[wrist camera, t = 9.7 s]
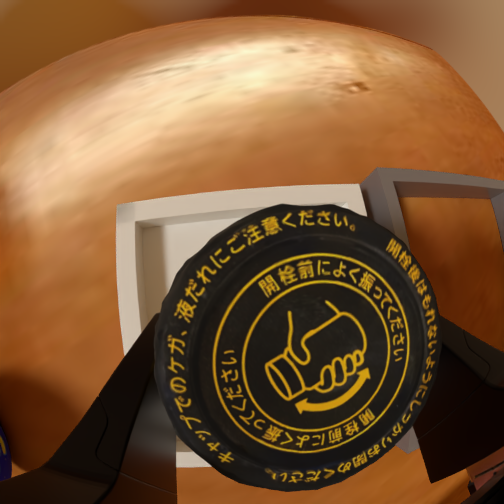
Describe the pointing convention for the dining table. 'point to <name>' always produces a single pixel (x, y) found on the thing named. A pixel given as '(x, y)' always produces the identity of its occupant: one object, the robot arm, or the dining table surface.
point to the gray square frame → (423, 185)
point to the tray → (191, 247)
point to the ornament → (4, 458)
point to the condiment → (297, 346)
